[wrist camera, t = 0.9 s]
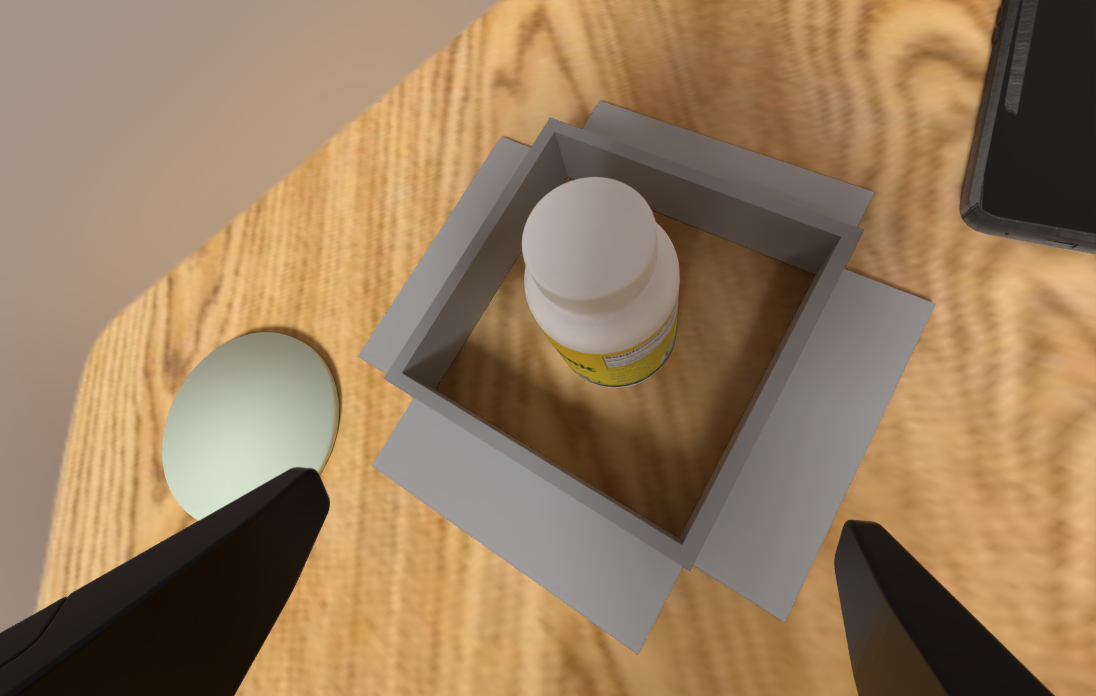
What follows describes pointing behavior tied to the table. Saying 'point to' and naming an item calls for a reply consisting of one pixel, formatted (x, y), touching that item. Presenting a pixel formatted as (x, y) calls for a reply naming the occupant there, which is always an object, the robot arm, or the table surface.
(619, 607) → the carton
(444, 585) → the table surface
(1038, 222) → the phone
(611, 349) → the supplement bottle
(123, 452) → the table surface
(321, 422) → the felt pad
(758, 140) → the table surface
